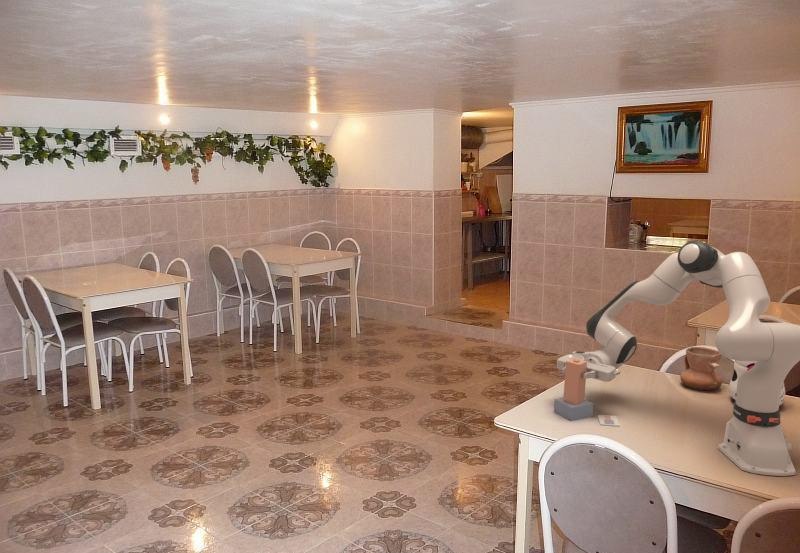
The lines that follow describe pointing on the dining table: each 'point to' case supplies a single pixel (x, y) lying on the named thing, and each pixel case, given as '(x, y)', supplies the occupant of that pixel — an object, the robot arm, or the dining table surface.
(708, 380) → the ceramic jug
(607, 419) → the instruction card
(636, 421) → the dining table surface
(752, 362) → the milk container
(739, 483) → the dining table surface
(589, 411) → the base brick
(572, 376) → the coral brick
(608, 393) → the dining table surface
